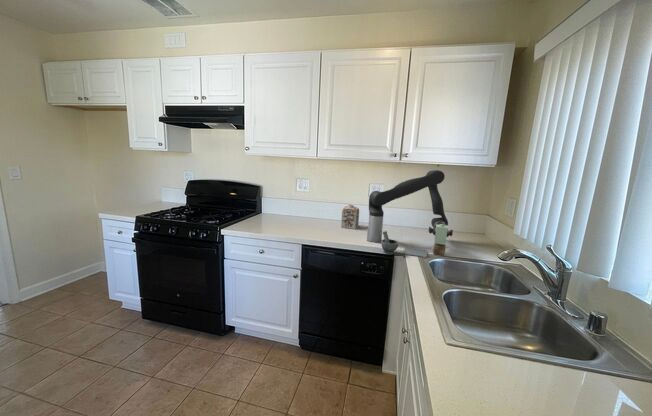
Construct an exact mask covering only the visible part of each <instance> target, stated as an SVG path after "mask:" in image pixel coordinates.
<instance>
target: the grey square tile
mask: <svg viewBox="0 0 652 416" xmlns="http://www.w3.org/2000/svg"><path fill="white" fill-rule="evenodd" d="M402 255H405V256H409V257H410V256H411V257H417V258H423V257H425V258H424V259H427V258H428V249H423V248H415V247H408V246H405V247H404V249H403V253H402ZM418 256H419V257H418Z"/></svg>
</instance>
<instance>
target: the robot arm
mask: <svg viewBox="0 0 652 416" xmlns="http://www.w3.org/2000/svg"><path fill="white" fill-rule="evenodd" d="M445 178H446V177H445V173H444V171H442V170H438V169H436V170H430V171H428V172H427V173H426V174H425V175H423V176H421V177H415V178H410V179H406V180H404V181H402V182H400V183H398V184H396V185H394V187H393V188H390V189H388V190H384V191H379V190H373V191H372V192H371V193H370V194H369V198H368V213H369V214H368V215H369V216H368V219H369V220H368V226H367V232H366V233H367V235H366V241H369V242H371V243H381V240H383V239H382V238H383V228H384V227H383V226H384V225H383V224H384V215H385V214H384V210H383V206H384V205H387V204H389V203H391V202H392V201H395V200H397V199H400V198H403V197H406V196H409V195H411V194H414V193H416V192H418V191H421V190H424V189H426V188H428V191H429V195H430V200H431V207H432V213H433V215H437V216H440V217H433V218H432V219H431V226H432V227H431V226H428V233H429V234H432V235H433V236H435V233H436V224H438V225H440V224H444V225H446V226H447V227H448V226H449V221H448V218H447V216H446V214H445V210H444V201H443V199H442V197H441V196H442V195H440V192H439V188H438V185H439V184H441V183H443V181H445ZM453 233H454V229H450V230H449V229H448V230H447V237H446V238H448V237H453Z"/></svg>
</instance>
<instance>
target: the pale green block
mask: <svg viewBox="0 0 652 416" xmlns="http://www.w3.org/2000/svg"><path fill="white" fill-rule="evenodd" d="M447 230H448V231H449V229H448V226H446V225H444V224H440V225H438V224H436V233H435V235H434V239H433V241H434V242H433V243H436V244H443V245H445V246H446V244H447V238H448V237H447Z"/></svg>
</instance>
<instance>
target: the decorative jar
mask: <svg viewBox="0 0 652 416" xmlns="http://www.w3.org/2000/svg"><path fill="white" fill-rule="evenodd" d="M359 220H360V209H359V207H357V206H355V205H354V204H351V203H350V204H347V206H343V208H342V211H341V221H340V222H341V223H340V227H341V228H342V229H348V228H349V229H350V230H356V229H357V228H358V227H359V222H360V221H359Z"/></svg>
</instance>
